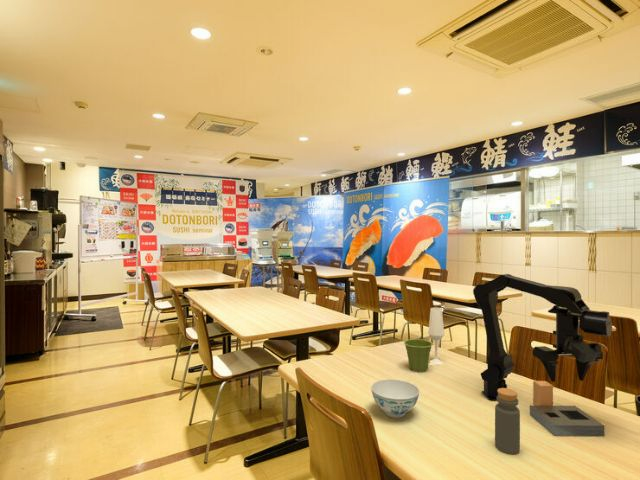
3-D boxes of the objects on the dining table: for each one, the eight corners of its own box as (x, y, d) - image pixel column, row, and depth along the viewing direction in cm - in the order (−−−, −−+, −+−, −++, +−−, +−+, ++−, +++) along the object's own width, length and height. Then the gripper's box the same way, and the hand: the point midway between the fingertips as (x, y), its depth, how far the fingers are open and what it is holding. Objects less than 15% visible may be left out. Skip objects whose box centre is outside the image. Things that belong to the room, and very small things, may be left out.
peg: (540, 410, 116) (540, 385, 116) (533, 404, 120) (533, 380, 120) (552, 410, 116) (552, 385, 116) (545, 404, 120) (545, 380, 120)
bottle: (490, 442, 98) (490, 387, 98) (511, 441, 99) (511, 386, 98) (503, 455, 92) (503, 396, 92) (524, 454, 93) (525, 395, 93)
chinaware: (420, 405, 119) (420, 382, 119) (417, 428, 105) (417, 402, 105) (375, 399, 124) (375, 376, 124) (366, 420, 110) (366, 394, 110)
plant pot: (410, 362, 161) (410, 337, 161) (436, 368, 154) (436, 341, 154) (399, 370, 151) (399, 343, 151) (427, 376, 144) (427, 348, 144)
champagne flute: (444, 366, 156) (444, 310, 156) (427, 364, 158) (428, 309, 158) (444, 361, 162) (444, 307, 162) (428, 359, 165) (428, 307, 164)
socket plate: (554, 435, 101) (554, 425, 101) (529, 414, 113) (529, 405, 113) (604, 436, 101) (604, 425, 101) (575, 415, 113) (575, 405, 113)
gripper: (559, 337, 100) (559, 394, 100) (620, 335, 102) (620, 390, 102) (531, 327, 111) (531, 378, 111) (586, 326, 113) (586, 375, 113)
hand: (567, 381), depth 109 cm, fingers open, 9 cm apart
